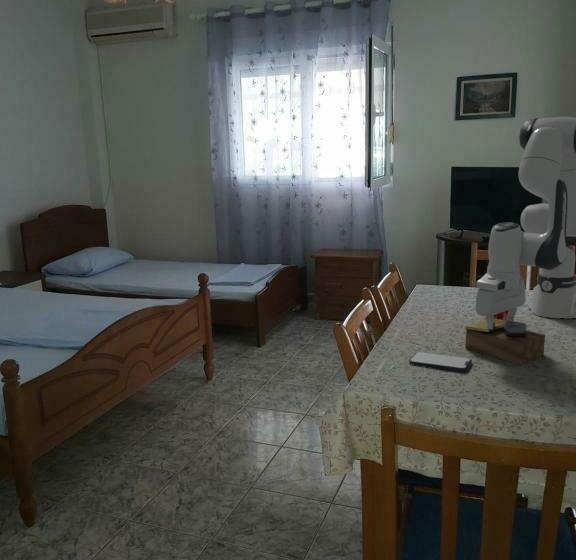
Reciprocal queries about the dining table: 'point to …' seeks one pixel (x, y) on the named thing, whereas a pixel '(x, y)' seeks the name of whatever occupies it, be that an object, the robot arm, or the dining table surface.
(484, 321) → the tan flat lid
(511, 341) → the block
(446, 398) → the dining table surface
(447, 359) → the smartphone
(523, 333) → the dark grey knob
